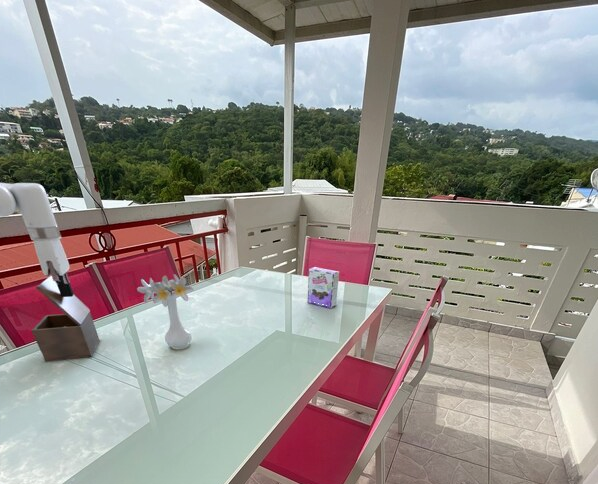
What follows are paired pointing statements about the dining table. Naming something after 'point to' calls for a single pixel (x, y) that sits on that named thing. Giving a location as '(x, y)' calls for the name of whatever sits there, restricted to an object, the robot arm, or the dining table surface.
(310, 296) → the candy box
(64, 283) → the robot arm
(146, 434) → the dining table surface
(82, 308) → the breadbox lid
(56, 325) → the box
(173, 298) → the flower vase
